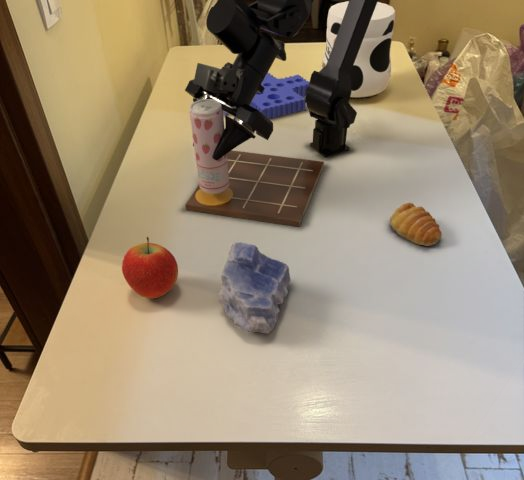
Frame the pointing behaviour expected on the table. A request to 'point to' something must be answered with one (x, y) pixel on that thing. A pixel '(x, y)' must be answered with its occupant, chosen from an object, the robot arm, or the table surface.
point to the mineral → (253, 288)
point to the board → (262, 189)
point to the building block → (280, 96)
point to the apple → (150, 269)
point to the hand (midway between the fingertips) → (204, 153)
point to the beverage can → (209, 145)
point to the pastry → (415, 225)
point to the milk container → (366, 50)
